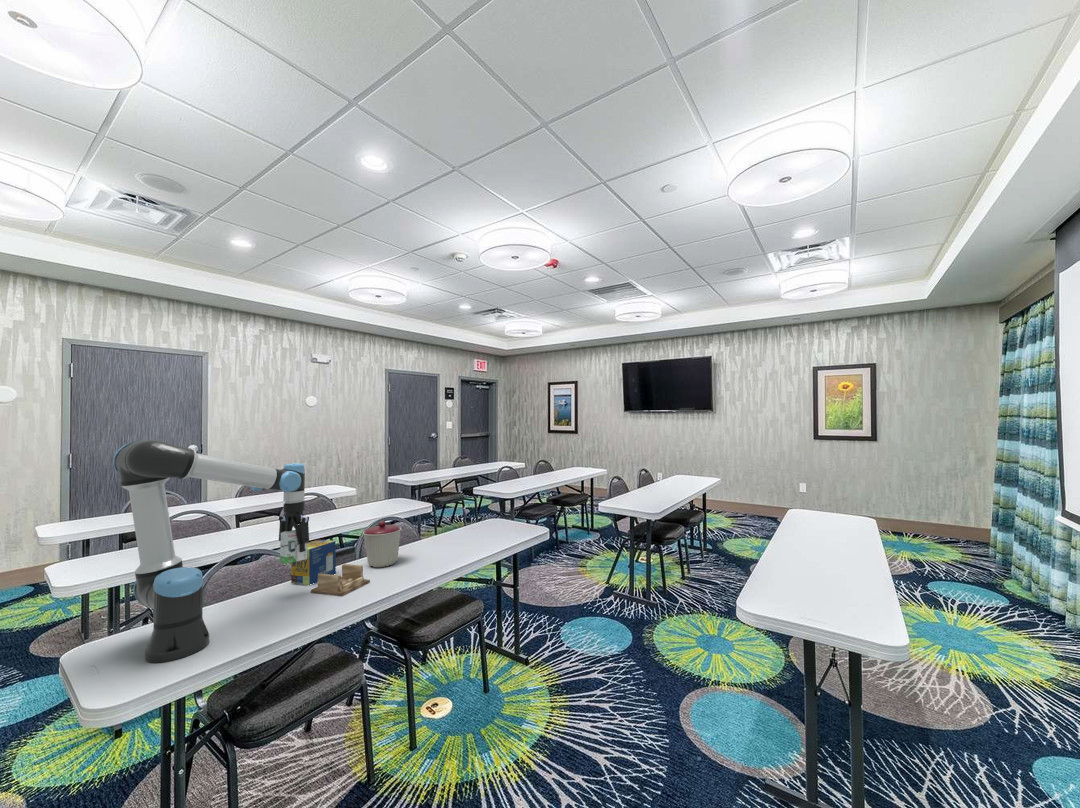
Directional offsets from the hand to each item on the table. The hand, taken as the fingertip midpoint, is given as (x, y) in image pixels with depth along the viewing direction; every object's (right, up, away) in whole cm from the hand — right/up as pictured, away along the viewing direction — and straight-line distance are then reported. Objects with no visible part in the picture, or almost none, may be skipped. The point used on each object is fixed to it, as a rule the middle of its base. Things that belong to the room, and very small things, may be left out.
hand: (293, 559), depth 177 cm
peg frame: (+16, -14, +7) cm, 22 cm away
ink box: (0, -1, 0) cm, 1 cm away
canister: (+23, -16, +37) cm, 46 cm away
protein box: (-2, -16, +19) cm, 25 cm away
